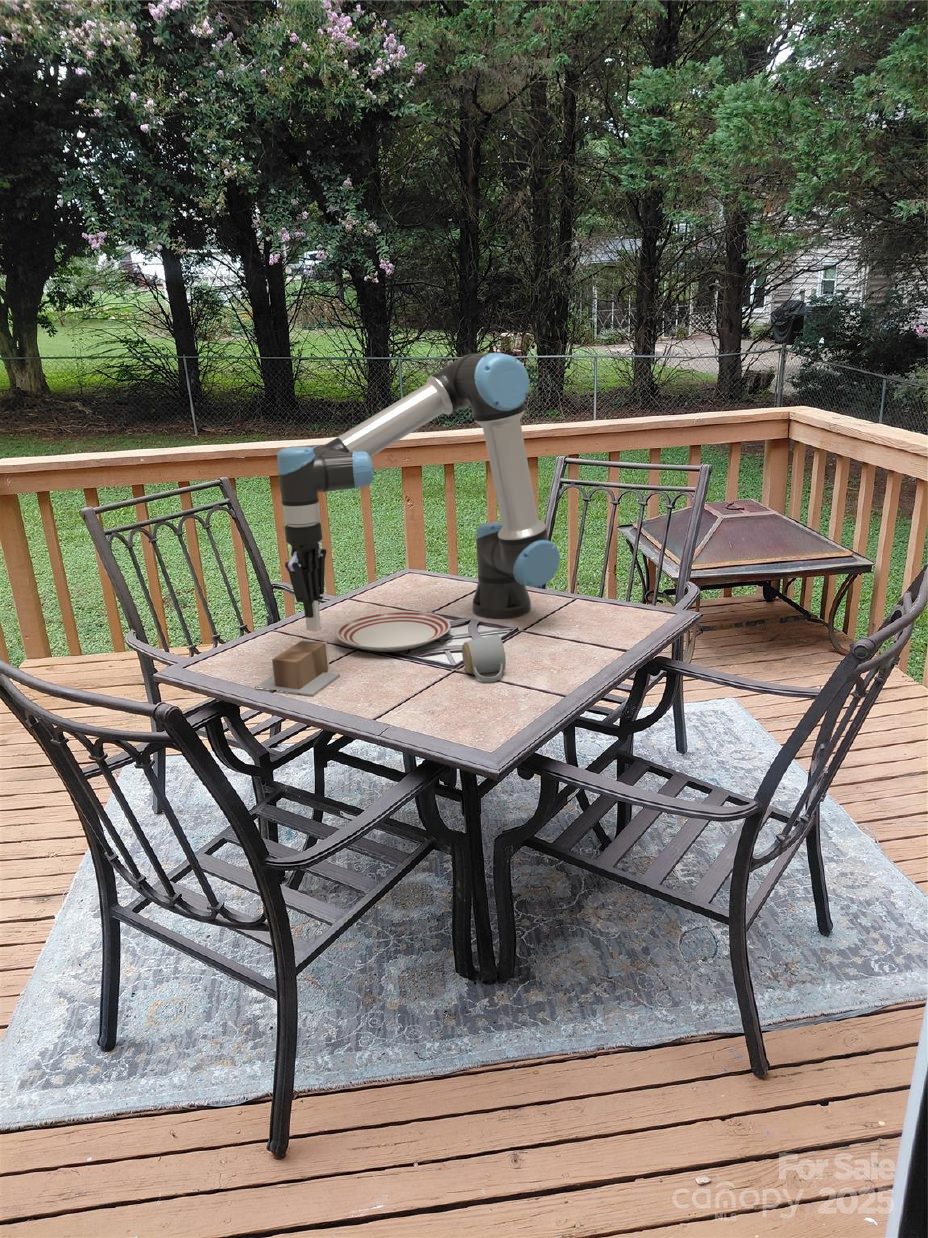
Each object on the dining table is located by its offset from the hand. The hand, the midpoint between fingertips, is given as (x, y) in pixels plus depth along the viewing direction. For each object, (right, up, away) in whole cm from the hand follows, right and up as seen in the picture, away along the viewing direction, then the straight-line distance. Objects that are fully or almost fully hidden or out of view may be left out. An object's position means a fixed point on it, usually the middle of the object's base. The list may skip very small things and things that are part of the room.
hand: (314, 629), depth 182 cm
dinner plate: (+16, -3, +19) cm, 25 cm away
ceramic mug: (+38, -10, -4) cm, 39 cm away
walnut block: (0, -5, +1) cm, 6 cm away
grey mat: (-3, -11, -4) cm, 12 cm away
